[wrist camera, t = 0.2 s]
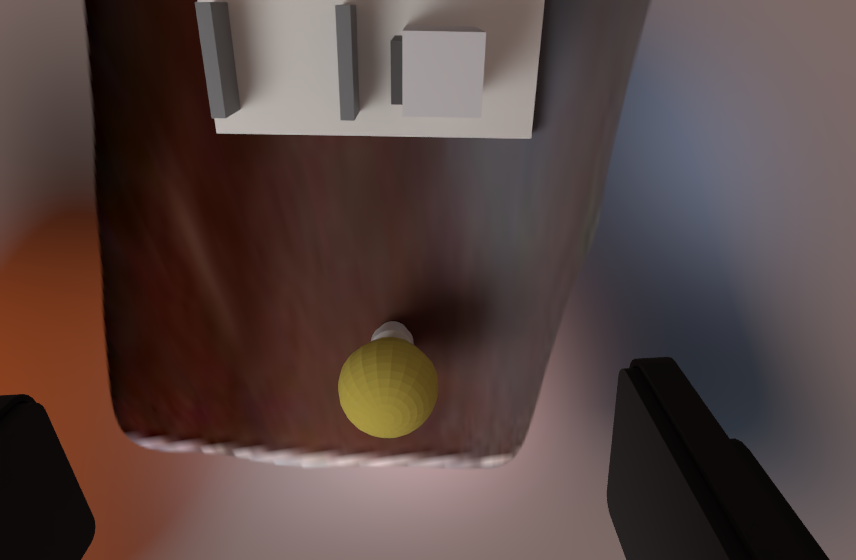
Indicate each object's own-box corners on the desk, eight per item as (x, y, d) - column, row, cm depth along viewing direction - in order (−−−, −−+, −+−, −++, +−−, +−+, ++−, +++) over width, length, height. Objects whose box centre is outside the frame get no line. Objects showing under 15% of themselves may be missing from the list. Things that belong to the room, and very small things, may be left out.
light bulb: (339, 304, 43) (318, 385, 34) (426, 288, 42) (428, 366, 33) (362, 376, 46) (347, 467, 37) (443, 362, 45) (448, 451, 36)
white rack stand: (200, -28, 33) (137, -35, 26) (542, -20, 34) (576, -26, 26) (222, 129, 37) (173, 161, 30) (528, 134, 37) (553, 167, 30)
